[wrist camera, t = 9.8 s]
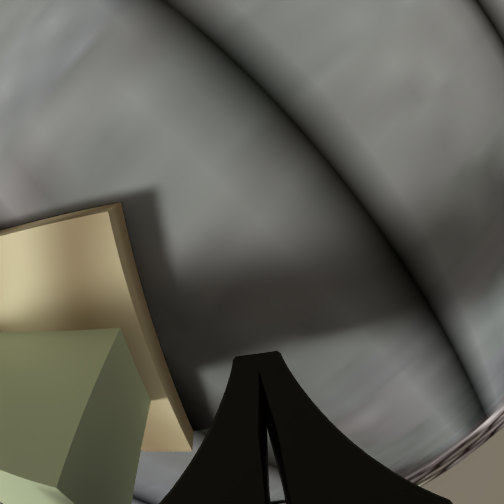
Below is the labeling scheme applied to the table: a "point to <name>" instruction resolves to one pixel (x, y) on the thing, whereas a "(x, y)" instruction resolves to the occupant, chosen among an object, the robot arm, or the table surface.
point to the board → (90, 301)
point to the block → (69, 417)
